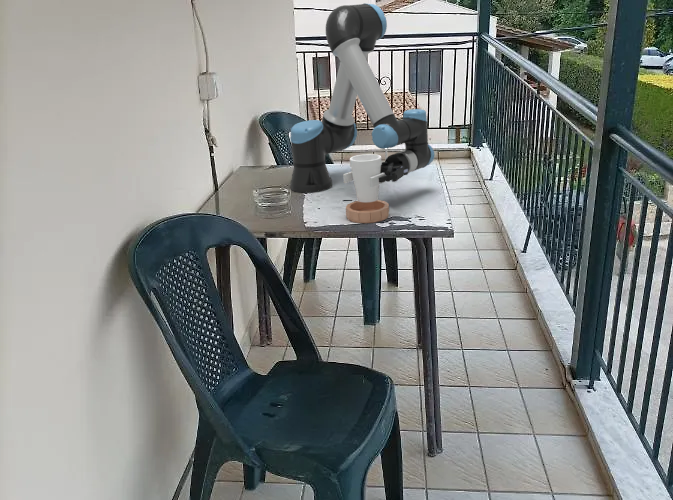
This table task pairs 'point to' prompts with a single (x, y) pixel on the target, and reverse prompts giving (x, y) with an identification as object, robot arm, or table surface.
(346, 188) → the table surface
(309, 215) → the table surface
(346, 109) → the robot arm
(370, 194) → the foam cup
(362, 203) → the bowl
